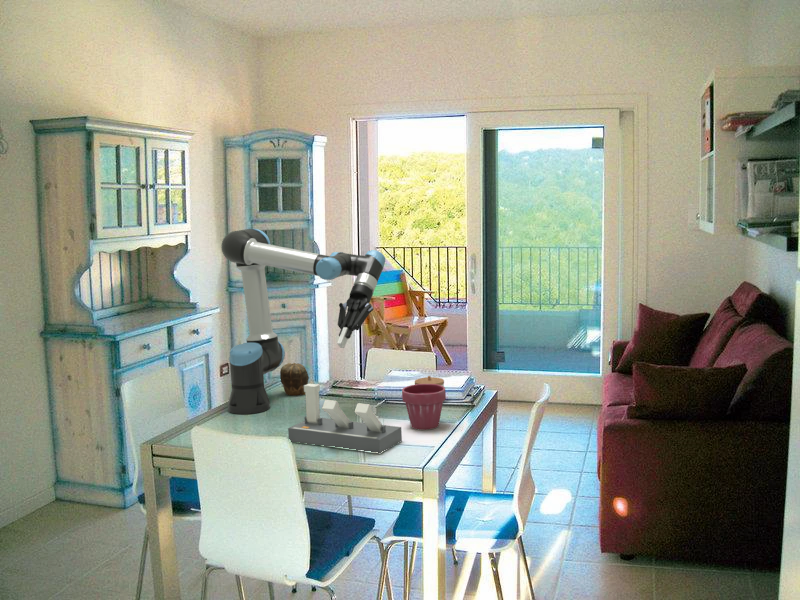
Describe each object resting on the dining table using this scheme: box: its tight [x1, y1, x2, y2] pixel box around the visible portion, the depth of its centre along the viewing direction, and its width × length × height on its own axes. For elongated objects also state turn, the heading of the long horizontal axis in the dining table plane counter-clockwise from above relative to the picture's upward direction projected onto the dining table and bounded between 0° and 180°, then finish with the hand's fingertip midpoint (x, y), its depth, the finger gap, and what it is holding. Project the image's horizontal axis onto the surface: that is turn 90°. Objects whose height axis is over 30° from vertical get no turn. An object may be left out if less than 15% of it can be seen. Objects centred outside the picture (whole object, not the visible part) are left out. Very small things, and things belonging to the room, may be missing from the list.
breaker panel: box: [287, 415, 403, 454], centre depth 271 cm, size 14×33×7 cm, turn 62°
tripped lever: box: [304, 383, 321, 424], centre depth 275 cm, size 3×4×12 cm
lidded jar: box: [414, 375, 445, 387], centre depth 316 cm, size 11×11×9 cm
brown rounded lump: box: [279, 362, 310, 397], centre depth 334 cm, size 11×11×12 cm
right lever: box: [354, 402, 383, 431], centre depth 261 cm, size 3×4×12 cm
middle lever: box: [321, 399, 351, 427], centre depth 267 cm, size 3×4×12 cm
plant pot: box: [401, 384, 447, 431], centre depth 284 cm, size 14×14×13 cm
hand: (340, 345), depth 288 cm, fingers closed
